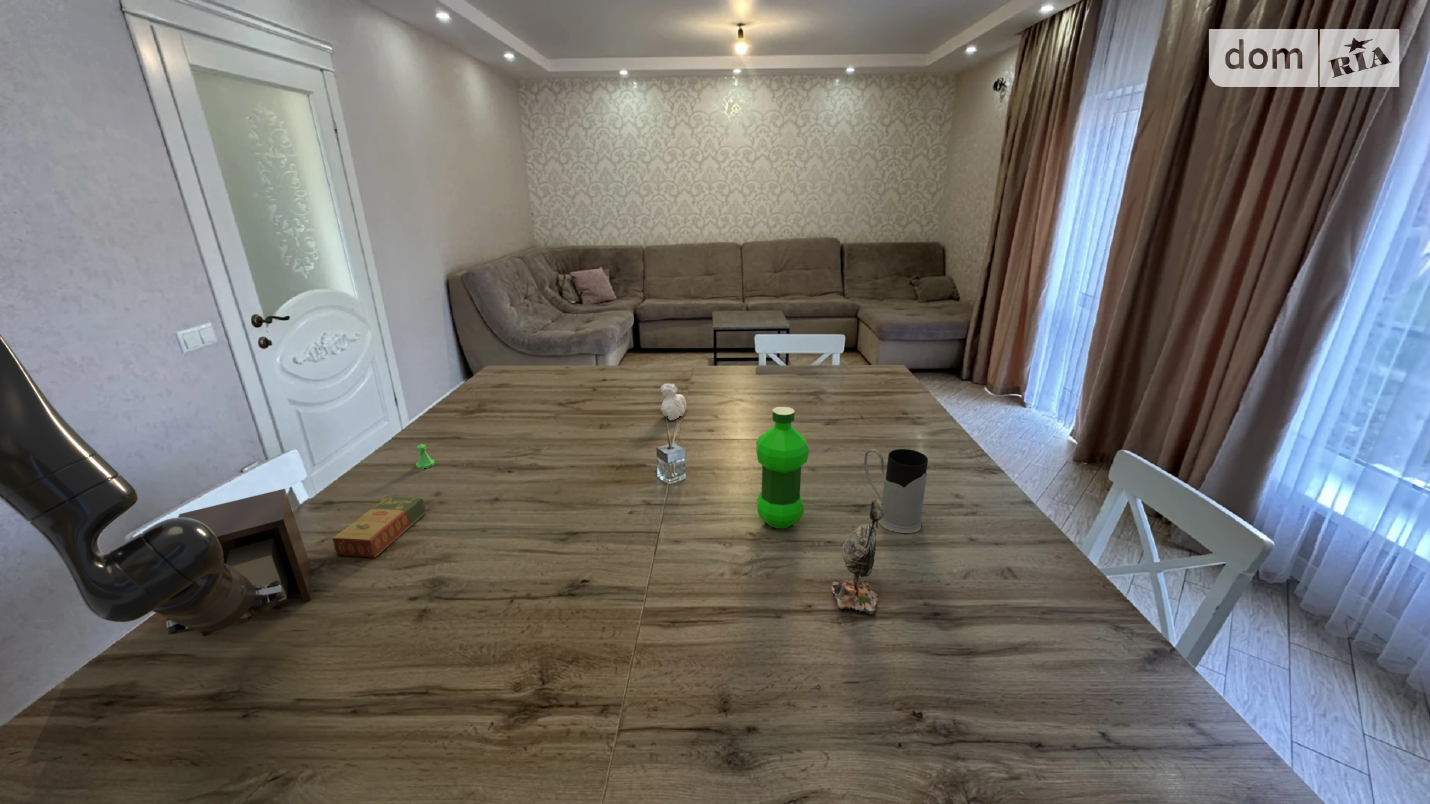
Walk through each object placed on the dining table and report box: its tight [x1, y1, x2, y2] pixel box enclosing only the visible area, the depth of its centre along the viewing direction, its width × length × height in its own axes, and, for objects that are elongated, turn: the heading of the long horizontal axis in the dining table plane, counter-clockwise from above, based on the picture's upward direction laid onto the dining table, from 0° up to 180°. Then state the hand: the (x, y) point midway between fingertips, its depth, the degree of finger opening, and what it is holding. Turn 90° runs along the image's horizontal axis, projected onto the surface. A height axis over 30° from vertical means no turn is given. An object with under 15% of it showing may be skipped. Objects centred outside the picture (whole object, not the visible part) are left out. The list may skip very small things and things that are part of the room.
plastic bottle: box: [755, 406, 810, 529], centre depth 110 cm, size 10×10×25 cm
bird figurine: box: [831, 498, 884, 615], centre depth 91 cm, size 8×11×20 cm
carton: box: [332, 495, 427, 559], centre depth 111 cm, size 8×16×4 cm, turn 173°
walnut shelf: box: [177, 488, 312, 637], centre depth 92 cm, size 14×12×16 cm
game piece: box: [415, 443, 436, 470], centre depth 139 cm, size 4×4×6 cm
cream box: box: [226, 538, 289, 602], centre depth 93 cm, size 6×6×9 cm
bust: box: [660, 382, 687, 421], centre depth 168 cm, size 12×8×11 cm
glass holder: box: [863, 448, 929, 532], centre depth 114 cm, size 9×14×15 cm, turn 39°
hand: (244, 615), depth 83 cm, fingers closed
